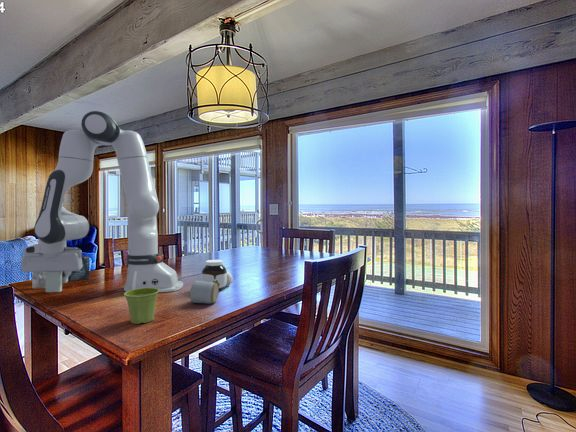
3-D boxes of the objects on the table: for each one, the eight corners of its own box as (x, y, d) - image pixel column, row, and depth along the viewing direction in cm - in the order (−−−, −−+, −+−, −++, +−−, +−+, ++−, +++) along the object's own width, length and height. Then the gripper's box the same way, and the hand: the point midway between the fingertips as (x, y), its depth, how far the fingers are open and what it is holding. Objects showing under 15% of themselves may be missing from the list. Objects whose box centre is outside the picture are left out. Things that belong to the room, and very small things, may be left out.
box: (69, 281, 138) (69, 258, 138) (66, 279, 142) (66, 256, 142) (90, 279, 144) (89, 256, 143) (87, 277, 148) (86, 254, 148)
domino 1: (48, 287, 129) (48, 267, 129) (46, 288, 127) (45, 268, 127) (35, 287, 128) (34, 268, 128) (32, 288, 127) (32, 269, 127)
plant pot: (116, 324, 90) (116, 294, 89) (142, 313, 98) (142, 286, 98) (141, 328, 86) (141, 297, 86) (166, 317, 95) (166, 289, 95)
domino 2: (62, 290, 124) (61, 270, 124) (59, 291, 122) (59, 271, 122) (48, 291, 123) (47, 270, 123) (45, 292, 122) (45, 271, 121)
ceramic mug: (213, 306, 106) (213, 283, 106) (189, 305, 107) (189, 283, 106) (221, 297, 117) (222, 277, 116) (200, 297, 117) (200, 276, 117)
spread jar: (199, 291, 124) (199, 262, 124) (206, 284, 135) (206, 257, 135) (229, 291, 124) (229, 262, 124) (234, 284, 136) (234, 258, 135)
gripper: (85, 246, 127) (85, 280, 127) (29, 246, 124) (29, 281, 124) (77, 248, 120) (77, 283, 121) (18, 248, 117) (18, 285, 118)
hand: (52, 282), depth 122 cm, fingers open, 7 cm apart
